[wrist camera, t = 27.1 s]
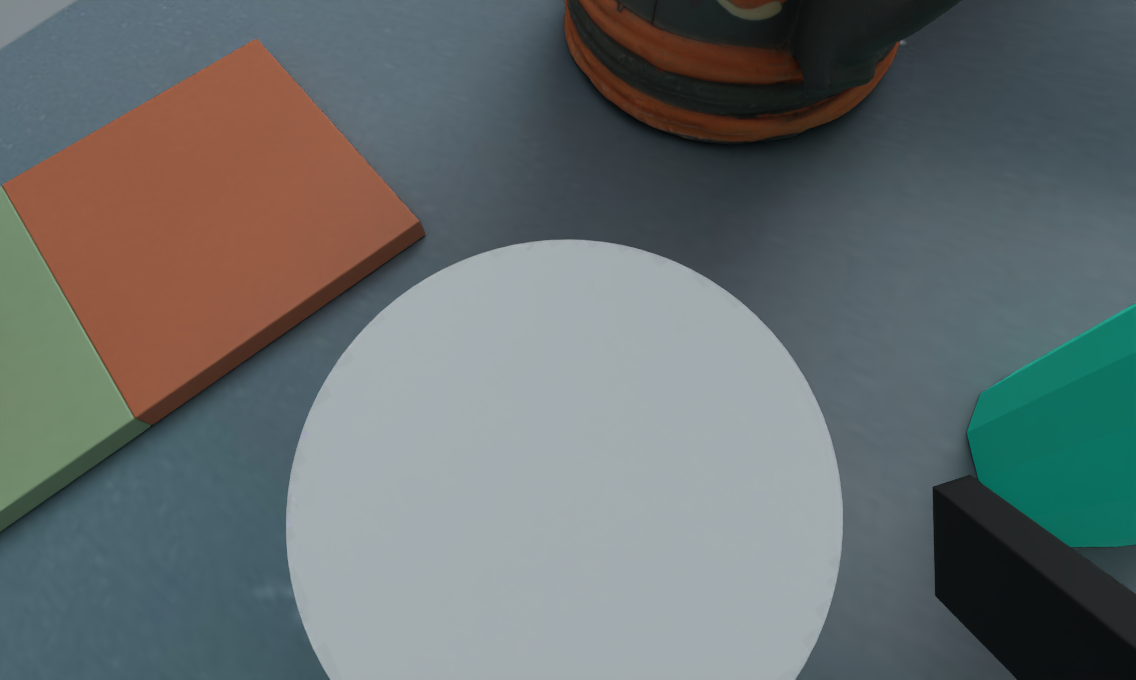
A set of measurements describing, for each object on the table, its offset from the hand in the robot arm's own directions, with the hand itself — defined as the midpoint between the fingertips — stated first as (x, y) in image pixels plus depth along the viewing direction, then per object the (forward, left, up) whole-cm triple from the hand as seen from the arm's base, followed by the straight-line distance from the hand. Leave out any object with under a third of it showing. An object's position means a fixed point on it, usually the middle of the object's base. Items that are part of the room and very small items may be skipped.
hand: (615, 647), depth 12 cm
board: (-8, +22, -8) cm, 25 cm away
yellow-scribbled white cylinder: (+1, +2, -8) cm, 9 cm away
